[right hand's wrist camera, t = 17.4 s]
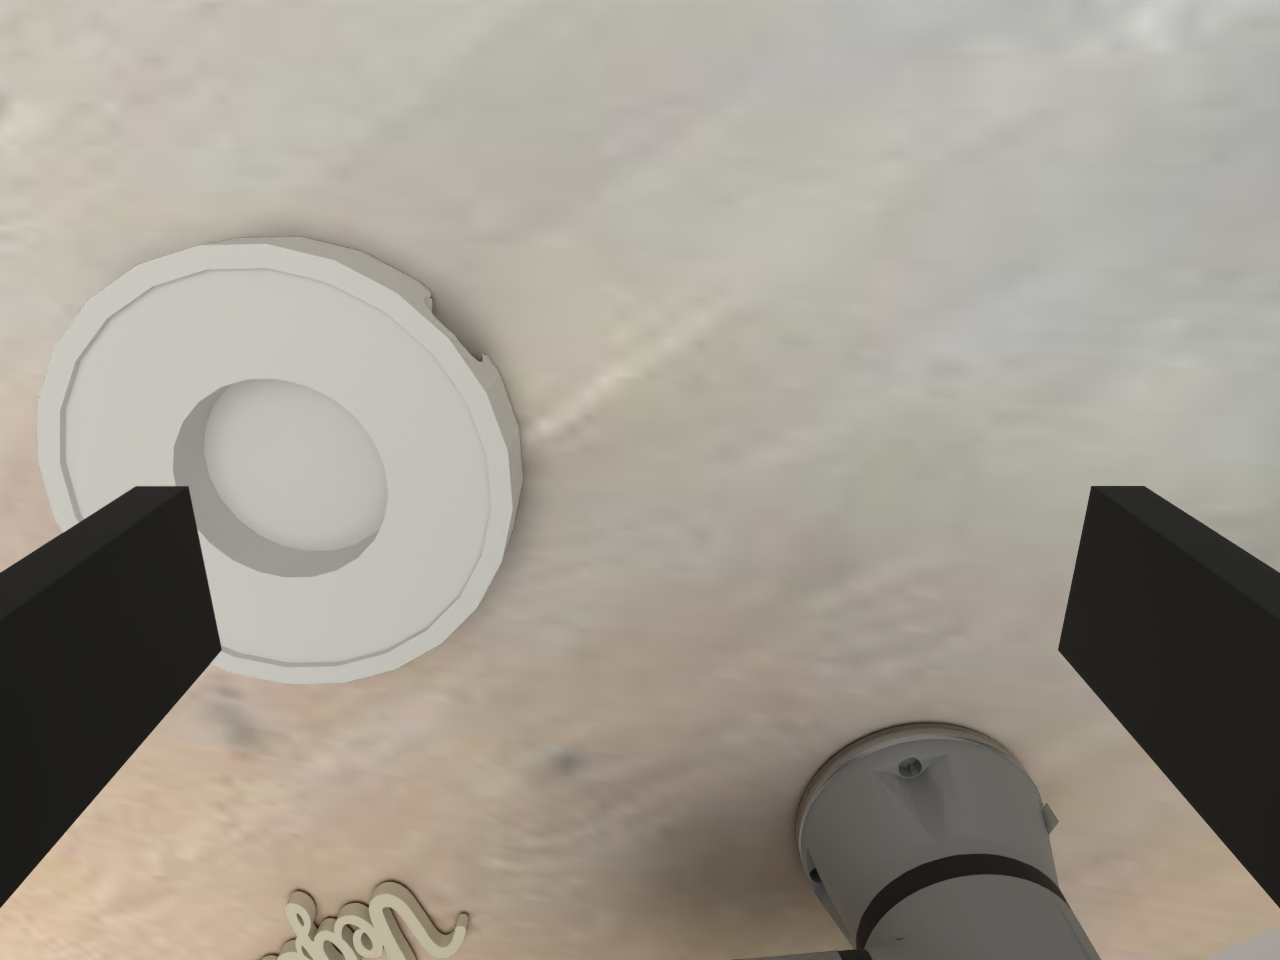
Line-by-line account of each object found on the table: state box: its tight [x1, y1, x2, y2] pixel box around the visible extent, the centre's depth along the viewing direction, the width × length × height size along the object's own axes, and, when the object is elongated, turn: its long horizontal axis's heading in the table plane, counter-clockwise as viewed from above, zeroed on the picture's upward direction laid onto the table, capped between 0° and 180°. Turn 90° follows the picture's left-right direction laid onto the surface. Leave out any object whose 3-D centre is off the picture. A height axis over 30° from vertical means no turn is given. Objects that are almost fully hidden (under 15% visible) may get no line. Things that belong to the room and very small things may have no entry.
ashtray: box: [37, 236, 523, 684], centre depth 43 cm, size 23×23×4 cm
